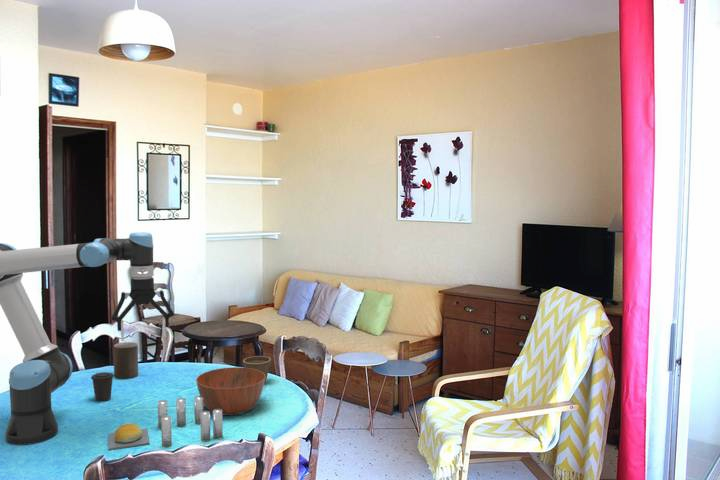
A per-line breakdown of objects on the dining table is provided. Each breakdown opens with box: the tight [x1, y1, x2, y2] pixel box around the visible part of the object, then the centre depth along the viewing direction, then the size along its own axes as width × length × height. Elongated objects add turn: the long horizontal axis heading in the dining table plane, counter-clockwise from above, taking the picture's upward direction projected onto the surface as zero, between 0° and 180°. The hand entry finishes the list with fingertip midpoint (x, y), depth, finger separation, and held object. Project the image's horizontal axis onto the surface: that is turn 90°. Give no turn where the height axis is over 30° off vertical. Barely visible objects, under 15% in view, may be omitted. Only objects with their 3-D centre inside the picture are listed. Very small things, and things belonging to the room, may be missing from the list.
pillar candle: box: [113, 341, 139, 380], centre depth 261 cm, size 10×10×15 cm
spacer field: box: [157, 395, 224, 448], centre depth 202 cm, size 19×18×9 cm
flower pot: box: [242, 355, 272, 385], centre depth 253 cm, size 12×11×10 cm
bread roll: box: [114, 423, 142, 443], centre depth 196 cm, size 8×9×4 cm
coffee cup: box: [90, 371, 114, 403], centre depth 233 cm, size 8×8×10 cm
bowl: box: [195, 366, 265, 416], centre depth 225 cm, size 25×25×11 cm
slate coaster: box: [108, 428, 150, 451], centre depth 196 cm, size 12×12×1 cm
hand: (143, 338), depth 212 cm, fingers open, 13 cm apart
